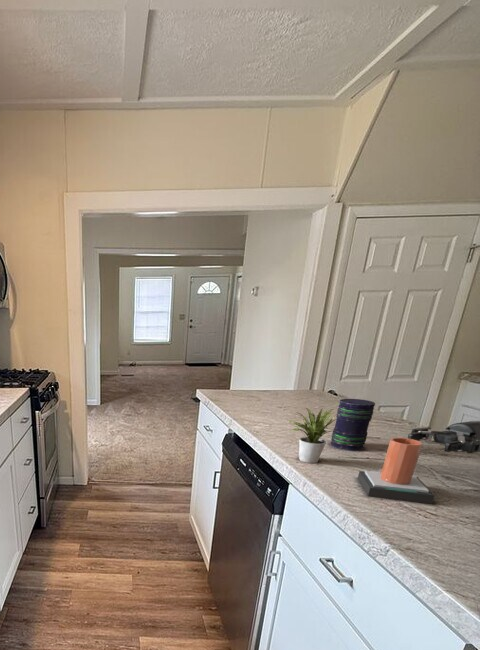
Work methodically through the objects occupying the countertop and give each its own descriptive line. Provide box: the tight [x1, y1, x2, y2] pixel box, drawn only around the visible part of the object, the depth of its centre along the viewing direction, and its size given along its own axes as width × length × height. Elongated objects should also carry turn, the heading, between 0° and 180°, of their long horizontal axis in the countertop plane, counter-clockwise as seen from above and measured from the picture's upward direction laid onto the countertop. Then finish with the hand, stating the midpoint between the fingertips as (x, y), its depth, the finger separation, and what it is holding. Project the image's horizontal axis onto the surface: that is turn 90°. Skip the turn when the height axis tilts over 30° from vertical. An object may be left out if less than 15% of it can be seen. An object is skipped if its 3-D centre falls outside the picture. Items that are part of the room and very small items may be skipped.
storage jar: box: [329, 398, 376, 452], centre depth 131 cm, size 10×10×15 cm
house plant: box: [288, 406, 338, 464], centre depth 120 cm, size 14×14×16 cm
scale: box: [357, 470, 436, 505], centre depth 100 cm, size 13×12×3 cm
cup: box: [380, 437, 424, 485], centre depth 98 cm, size 6×6×10 cm
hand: (427, 442), depth 98 cm, fingers open, 8 cm apart
